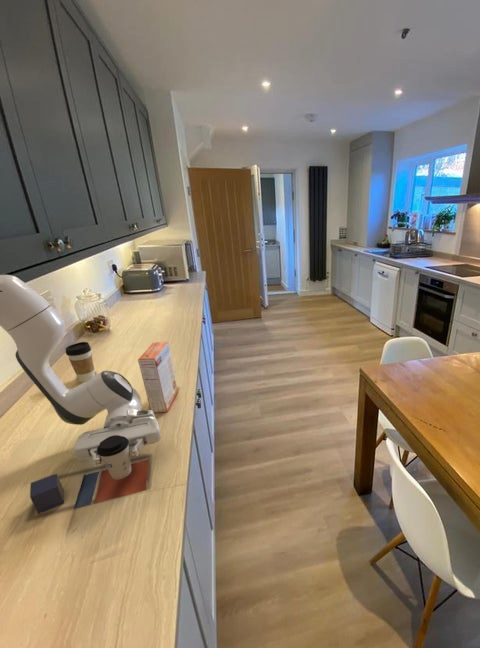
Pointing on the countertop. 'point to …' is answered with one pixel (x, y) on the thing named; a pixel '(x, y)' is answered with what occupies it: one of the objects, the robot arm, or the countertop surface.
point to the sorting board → (113, 484)
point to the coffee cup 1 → (81, 360)
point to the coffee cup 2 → (115, 456)
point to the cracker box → (158, 376)
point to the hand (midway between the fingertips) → (116, 458)
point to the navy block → (47, 493)
